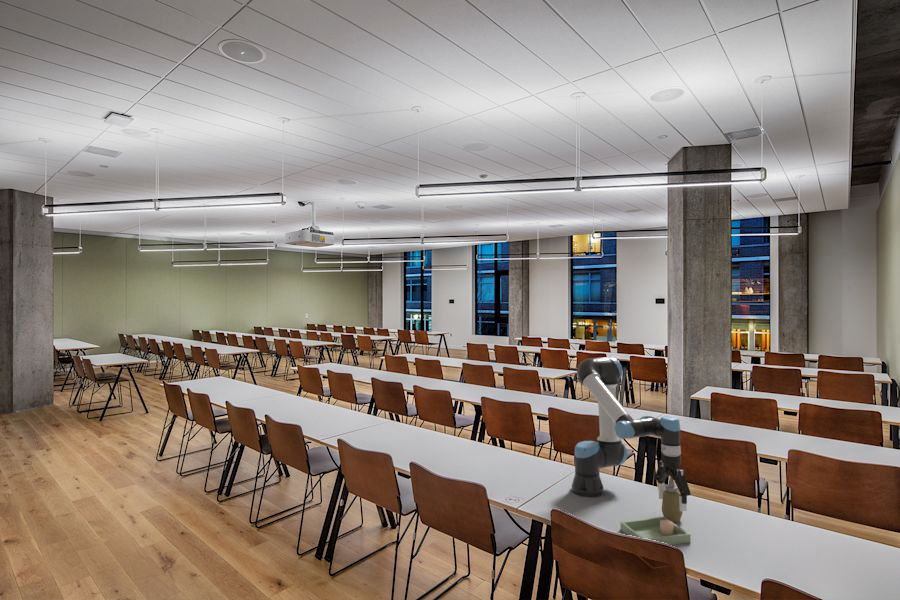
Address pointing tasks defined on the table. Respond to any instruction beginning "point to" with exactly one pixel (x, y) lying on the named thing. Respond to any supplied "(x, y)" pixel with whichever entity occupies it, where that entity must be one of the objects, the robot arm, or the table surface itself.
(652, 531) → the tray
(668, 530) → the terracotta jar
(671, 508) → the squeeze bottle
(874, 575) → the table surface
